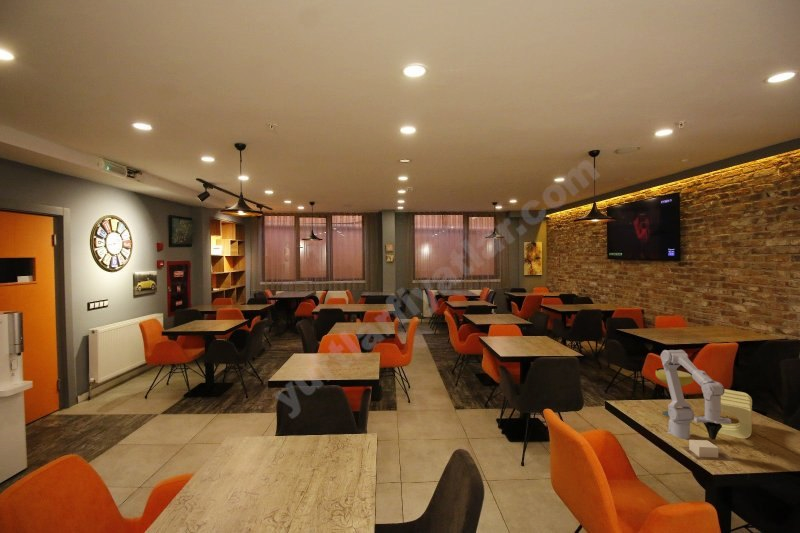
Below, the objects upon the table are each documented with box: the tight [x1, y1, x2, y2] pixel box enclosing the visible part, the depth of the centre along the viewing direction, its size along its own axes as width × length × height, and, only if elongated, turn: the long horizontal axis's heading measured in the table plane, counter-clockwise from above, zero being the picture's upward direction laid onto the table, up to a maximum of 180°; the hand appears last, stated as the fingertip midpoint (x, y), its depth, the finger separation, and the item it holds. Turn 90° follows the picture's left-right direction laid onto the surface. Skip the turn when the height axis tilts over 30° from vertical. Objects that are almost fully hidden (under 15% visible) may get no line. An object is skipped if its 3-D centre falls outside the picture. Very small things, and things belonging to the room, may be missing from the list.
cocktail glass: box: [655, 367, 695, 418], centre depth 226 cm, size 18×18×25 cm
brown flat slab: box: [681, 446, 736, 462], centre depth 179 cm, size 12×16×2 cm
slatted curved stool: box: [717, 388, 753, 439], centre depth 205 cm, size 30×16×18 cm, turn 138°
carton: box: [688, 439, 719, 458], centre depth 179 cm, size 7×4×8 cm
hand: (712, 438), depth 179 cm, fingers closed
